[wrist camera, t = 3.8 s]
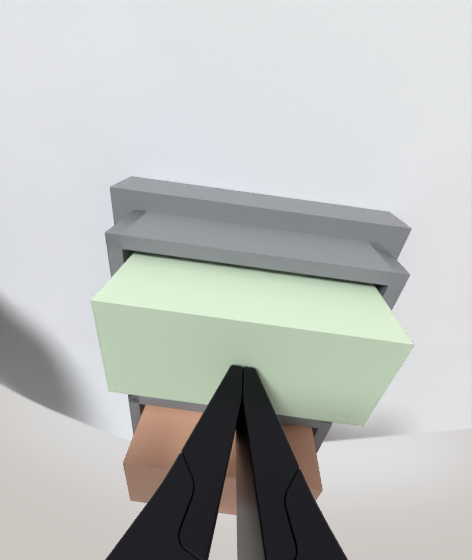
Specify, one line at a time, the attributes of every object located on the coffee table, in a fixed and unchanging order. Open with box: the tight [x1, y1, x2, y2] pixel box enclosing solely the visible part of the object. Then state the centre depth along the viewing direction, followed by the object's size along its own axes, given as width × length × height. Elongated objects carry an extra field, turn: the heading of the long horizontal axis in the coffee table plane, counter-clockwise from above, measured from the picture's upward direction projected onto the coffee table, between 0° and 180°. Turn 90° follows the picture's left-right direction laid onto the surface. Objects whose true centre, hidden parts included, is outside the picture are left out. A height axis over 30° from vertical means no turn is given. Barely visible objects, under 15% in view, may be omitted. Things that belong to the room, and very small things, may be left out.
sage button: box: [91, 251, 414, 426], centre depth 11 cm, size 10×4×4 cm, turn 83°
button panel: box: [105, 177, 412, 453], centre depth 17 cm, size 14×18×6 cm
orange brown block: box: [123, 405, 322, 515], centre depth 16 cm, size 10×4×4 cm, turn 83°
